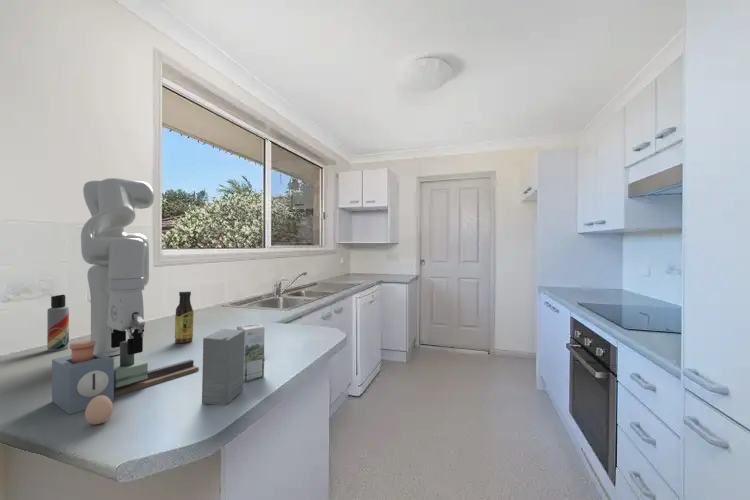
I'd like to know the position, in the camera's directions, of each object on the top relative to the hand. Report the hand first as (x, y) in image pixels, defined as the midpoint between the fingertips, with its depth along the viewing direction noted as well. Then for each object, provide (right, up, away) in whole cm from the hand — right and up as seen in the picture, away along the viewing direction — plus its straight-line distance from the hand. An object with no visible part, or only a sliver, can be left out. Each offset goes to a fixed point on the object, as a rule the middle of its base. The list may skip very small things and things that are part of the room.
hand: (126, 349), depth 87 cm
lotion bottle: (-51, -10, +34) cm, 62 cm away
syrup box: (+30, -10, +7) cm, 32 cm away
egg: (+8, -10, -18) cm, 22 cm away
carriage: (0, -8, 0) cm, 8 cm away
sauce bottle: (-10, -10, +44) cm, 47 cm away
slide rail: (+4, -10, +5) cm, 12 cm away
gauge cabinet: (-4, -10, -8) cm, 13 cm away
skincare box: (+29, -10, -6) cm, 31 cm away
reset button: (-4, 0, -8) cm, 9 cm away
